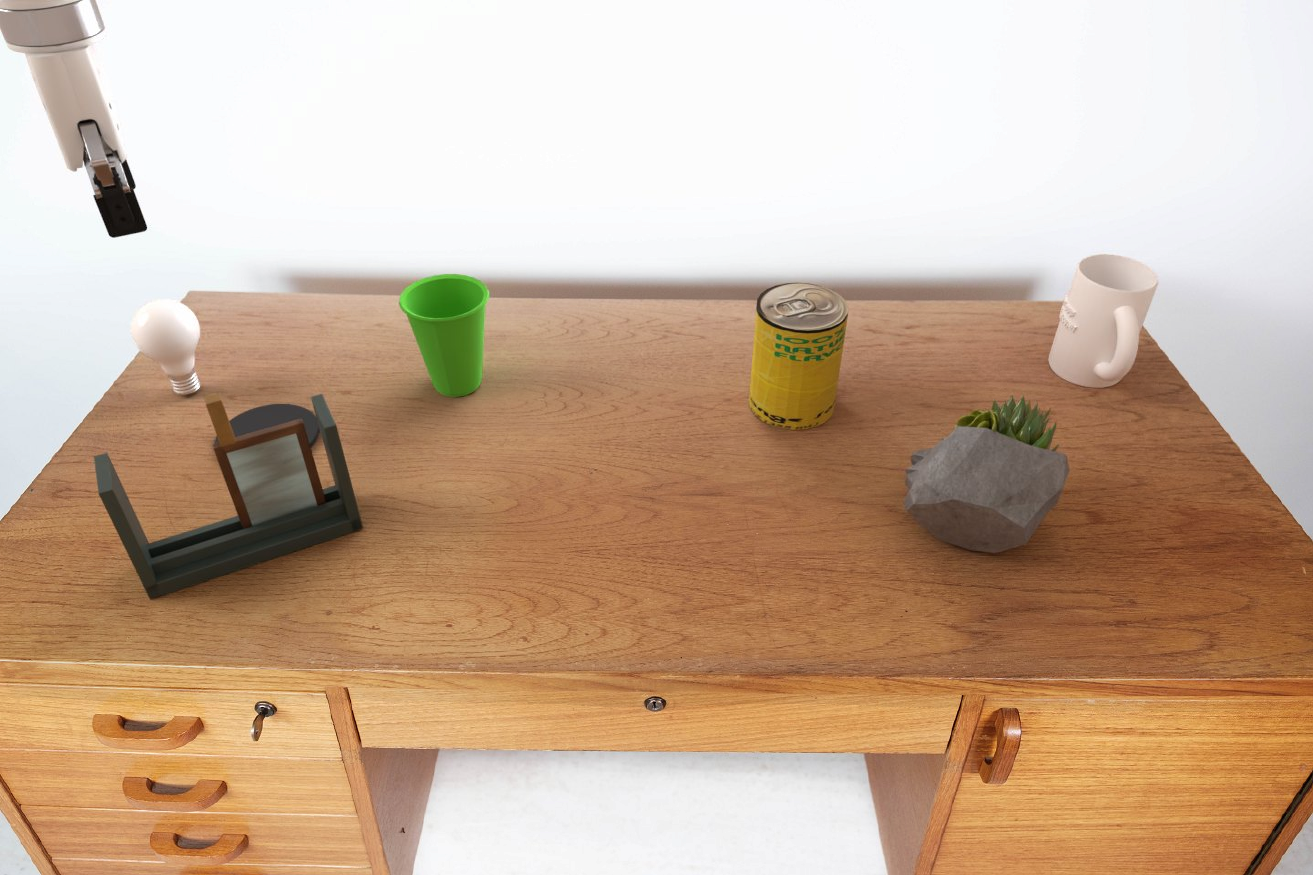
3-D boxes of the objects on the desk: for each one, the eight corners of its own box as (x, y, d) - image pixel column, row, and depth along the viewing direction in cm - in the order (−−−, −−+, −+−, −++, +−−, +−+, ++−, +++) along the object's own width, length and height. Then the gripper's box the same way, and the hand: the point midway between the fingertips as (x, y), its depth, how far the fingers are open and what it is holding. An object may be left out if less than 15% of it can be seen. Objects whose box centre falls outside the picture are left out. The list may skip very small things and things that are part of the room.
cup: (507, 362, 108) (497, 275, 101) (488, 411, 101) (476, 321, 94) (429, 357, 109) (414, 271, 102) (405, 406, 102) (386, 316, 95)
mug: (1069, 410, 102) (1102, 312, 94) (1036, 347, 111) (1064, 253, 103) (1148, 411, 101) (1187, 313, 94) (1108, 347, 111) (1142, 254, 103)
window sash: (246, 538, 84) (197, 406, 75) (243, 529, 85) (195, 398, 76) (329, 511, 87) (291, 381, 78) (326, 503, 88) (288, 373, 79)
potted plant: (867, 505, 85) (916, 382, 93) (964, 586, 89) (1004, 461, 96) (973, 473, 75) (1018, 338, 83) (1078, 566, 79) (1112, 428, 86)
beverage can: (851, 413, 101) (867, 314, 93) (781, 439, 98) (791, 339, 90) (800, 370, 107) (811, 274, 100) (732, 393, 104) (738, 296, 96)
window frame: (150, 599, 81) (98, 493, 73) (143, 561, 84) (93, 456, 77) (363, 528, 87) (336, 424, 80) (349, 495, 91) (322, 393, 83)
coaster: (225, 482, 92) (223, 477, 92) (208, 425, 99) (207, 420, 99) (330, 450, 96) (329, 446, 96) (307, 398, 103) (306, 393, 102)
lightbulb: (175, 373, 106) (142, 285, 99) (230, 377, 106) (201, 289, 99) (145, 407, 101) (108, 318, 94) (203, 412, 101) (170, 322, 94)
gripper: (-2, 0, 84) (74, 184, 95) (1, 59, 72) (86, 261, 83) (92, -11, 87) (155, 169, 98) (109, 44, 75) (178, 241, 86)
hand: (123, 211), depth 91 cm, fingers open, 9 cm apart
